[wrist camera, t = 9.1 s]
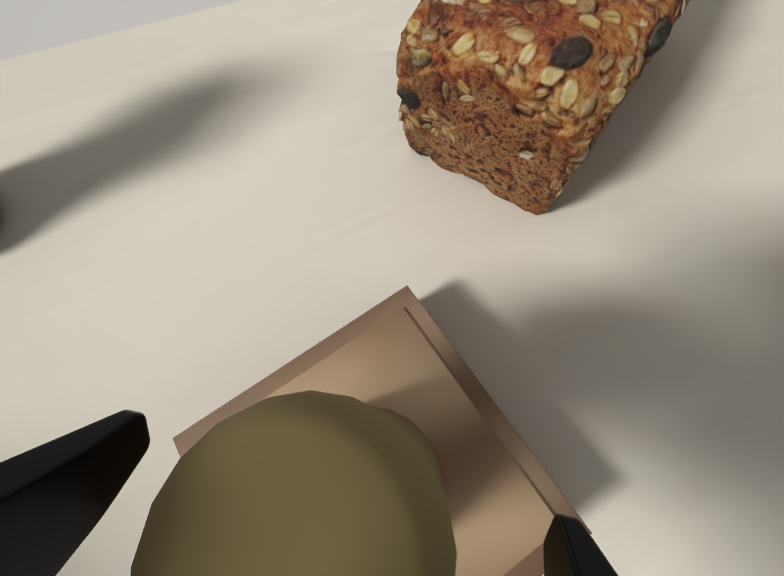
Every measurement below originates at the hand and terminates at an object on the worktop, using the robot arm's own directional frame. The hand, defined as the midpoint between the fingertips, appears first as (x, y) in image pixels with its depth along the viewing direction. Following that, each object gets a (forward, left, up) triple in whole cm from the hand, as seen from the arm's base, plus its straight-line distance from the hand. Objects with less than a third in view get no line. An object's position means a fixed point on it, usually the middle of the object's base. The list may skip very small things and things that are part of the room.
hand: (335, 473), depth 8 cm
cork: (-1, +1, -8) cm, 8 cm away
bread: (+13, -21, -11) cm, 27 cm away
